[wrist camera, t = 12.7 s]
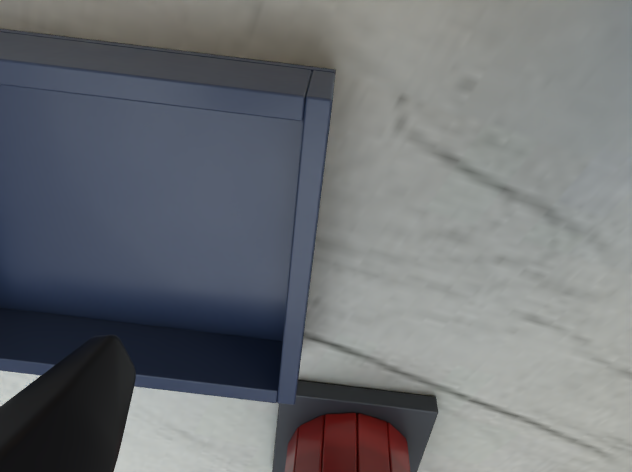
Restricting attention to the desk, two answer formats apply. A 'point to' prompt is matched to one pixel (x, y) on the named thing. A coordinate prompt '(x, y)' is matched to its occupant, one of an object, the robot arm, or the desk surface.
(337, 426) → the ring
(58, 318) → the box
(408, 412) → the ring stand
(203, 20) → the desk surface
